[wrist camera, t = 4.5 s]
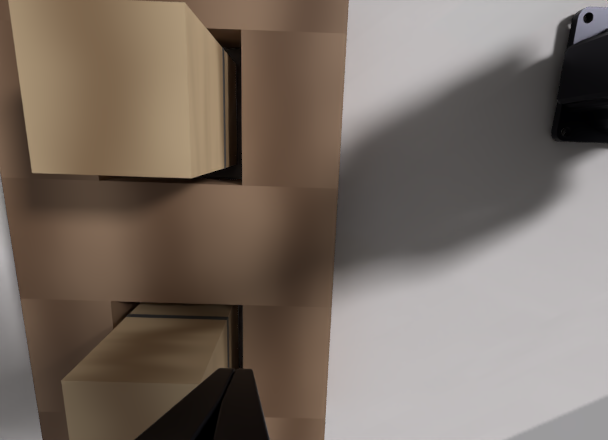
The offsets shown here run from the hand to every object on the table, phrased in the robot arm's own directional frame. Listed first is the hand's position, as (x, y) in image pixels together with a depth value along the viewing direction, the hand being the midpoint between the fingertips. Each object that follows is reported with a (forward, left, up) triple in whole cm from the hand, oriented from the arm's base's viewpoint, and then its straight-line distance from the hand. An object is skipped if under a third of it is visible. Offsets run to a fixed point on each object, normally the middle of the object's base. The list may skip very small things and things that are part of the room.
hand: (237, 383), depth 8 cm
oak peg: (+5, +6, -12) cm, 14 cm away
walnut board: (+5, -1, -12) cm, 13 cm away
